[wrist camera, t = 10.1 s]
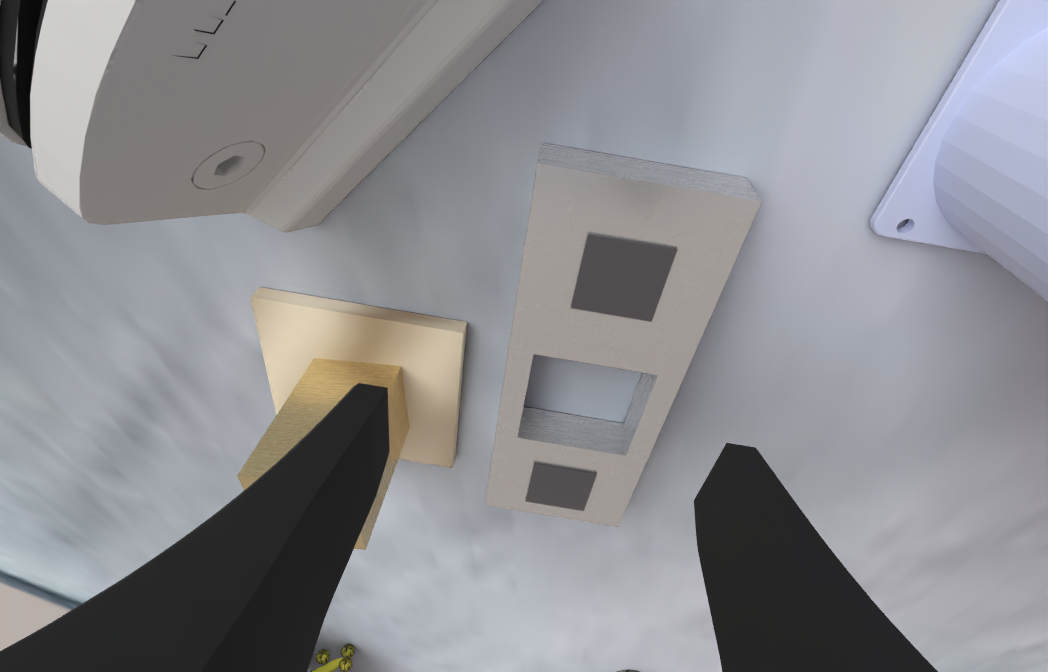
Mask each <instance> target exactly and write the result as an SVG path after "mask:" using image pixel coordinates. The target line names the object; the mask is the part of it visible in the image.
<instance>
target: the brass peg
mask: <svg viewBox="0 0 1048 672" xmlns="http://www.w3.org/2000/svg"><path fill="white" fill-rule="evenodd" d="M358 383H363V384H369V385H375V386H381V387H387V388H388V415H389V447H390V452H389V455H388V459H387V462H386V465H385V469H384V472H383V476H382V479H381V482H380V485H379V489H378V492H377V495H376V498H375V500H374V502H373V505H372V507H371V509H370V512H369V514H368V517H367V519H366V521H365V524H364V526H363V528H362V531H361V533H360V535H359V538H358V540H357V542H356V544H355V547H354V549H363V550H366V547H367V544H368V542H369V539H370V536H371V533H372V531H373V528H374V525H375V522H376V520H377V517H378V514H379V511H380V508H381V506H382V503H383V500H384V497H385V495H386V492H387V489H388V486H389V484H390V481H391V478H392V475H393V472H394V470H395V467H396V464H397V461H398V459H399V456H400V453H401V450H402V448H403V445H404V442H405V439H406V437H407V434H408V431H409V428H410V426H409V419H408V412H407V405H406V398H405V391H404V384H403V377H402V370H401V366H396V365H385V364H374V363H363V362H351V361H340V360H329V359H318V358H313V360H312V361H311V363H310V365H309V366H308V368H307V369H306V371H305V372H304V374H303V375H302V377H301V378H300V380H299V382H298V383H297V385H296V386H295V388H294V389H293V391H292V392H291V394H290V395H289V397H288V398H287V400H286V402H285V403H284V405H283V406H282V408H281V409H280V411H279V412H278V414H277V415H276V417H275V418H274V420H273V422H272V423H271V425H270V426H269V428H268V429H267V431H266V432H265V434H264V435H263V437H262V439H261V440H260V442H259V443H258V445H257V446H256V448H255V449H254V451H253V452H252V454H251V455H250V457H249V459H248V460H247V462H246V463H245V465H244V466H243V468H242V469H241V471H240V472H239V474H238V475H237V476H238V478H239V480H240V483H241V485H242V487H243V489H244V490H245V489H247V488H248V487H249V486H250V485H251V484H252V483H254V482H255V481H256V480H257V479H258V478H259V477H261V476H262V475H263V474H264V473H265V472H266V471H268V470H269V469H270V468H271V467H272V466H273V465H275V464H276V463H277V462H278V461H279V460H280V459H281V458H282V457H283V456H284V455H286V454H287V453H288V452H289V451H290V450H291V449H292V448H293V447H294V446H295V445H296V444H297V443H298V442H299V441H300V440H301V439H302V438H304V437H305V436H306V435H307V434H308V433H309V432H310V431H311V430H312V429H313V428H314V427H315V426H316V425H317V424H318V423H319V422H320V421H321V420H322V419H323V418H324V417H325V416H326V415H327V414H328V413H329V412H330V411H331V410H332V409H333V408H334V407H335V406H336V405H337V403H338V402H339V401H340V400H341V399H342V398H343V397H344V396H345V395H346V394H347V393H348V392H349V391H350V390H351V388H352V387H353V386H355V385H356V384H358Z"/></svg>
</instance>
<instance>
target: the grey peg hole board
mask: <svg viewBox="0 0 1048 672" xmlns="http://www.w3.org/2000/svg"><path fill="white" fill-rule="evenodd" d="M761 202H762V201H761V200H760V198H759V197H758V195H757V194H756V192H755V191H754V189H753V188H752V186H751V185H750V183H749V182H748V180H747V179H746V178H744V177H738V176H733V175H727V174H721V173H715V172H709V171H703V170H698V169H692V168H686V167H680V166H674V165H668V164H662V163H657V162H651V161H645V160H639V159H633V158H627V157H622V156H616V155H610V154H604V153H598V152H592V151H587V150H581V149H575V148H569V147H563V146H557V145H551V144H546V143H542V144H541V149H540V154H539V158H538V163H537V169H536V175H535V182H534V188H533V195H532V201H531V208H530V214H529V221H528V227H527V234H526V240H525V247H524V253H523V260H522V266H521V273H520V279H519V286H518V292H517V298H516V305H515V311H514V318H513V324H512V331H511V337H510V344H509V350H508V357H507V363H506V370H505V376H504V383H503V389H502V396H501V402H500V409H499V415H498V422H497V428H496V434H495V441H494V447H493V454H492V460H491V467H490V473H489V480H488V486H487V493H486V499H485V505H488V506H495V507H501V508H507V509H513V510H519V511H525V512H531V513H537V514H543V515H549V516H555V517H561V518H567V519H573V520H579V521H585V522H591V523H597V524H603V525H609V526H615V527H618V526H619V523H620V521H621V519H622V517H623V514H624V512H625V510H626V507H627V505H628V503H629V501H630V498H631V496H632V494H633V492H634V489H635V487H636V485H637V483H638V480H639V478H640V476H641V474H642V471H643V469H644V467H645V464H646V462H647V460H648V458H649V455H650V453H651V451H652V449H653V446H654V444H655V442H656V440H657V437H658V435H659V433H660V431H661V428H662V426H663V424H664V421H665V419H666V417H667V415H668V412H669V410H670V408H671V406H672V403H673V401H674V399H675V397H676V394H677V392H678V390H679V388H680V385H681V383H682V381H683V378H684V376H685V374H686V372H687V369H688V367H689V365H690V363H691V360H692V358H693V356H694V354H695V351H696V349H697V347H698V344H699V342H700V340H701V338H702V335H703V333H704V331H705V329H706V326H707V324H708V322H709V320H710V317H711V315H712V313H713V311H714V308H715V306H716V304H717V301H718V299H719V297H720V295H721V292H722V290H723V288H724V286H725V283H726V281H727V279H728V277H729V274H730V272H731V270H732V268H733V265H734V263H735V261H736V258H737V256H738V254H739V252H740V249H741V247H742V245H743V243H744V240H745V238H746V236H747V234H748V231H749V229H750V227H751V225H752V222H753V220H754V218H755V215H756V213H757V211H758V209H759V206H760V204H761ZM533 354H536V355H542V356H548V357H554V358H560V359H566V360H572V361H578V362H584V363H590V364H596V365H602V366H608V367H614V368H620V369H625V370H631V371H637V372H643V373H642V375H641V378H640V381H639V383H638V386H637V389H636V391H635V394H634V397H633V399H632V402H631V405H630V408H629V410H628V413H627V416H626V418H625V421H624V423H618V422H612V421H606V420H600V419H594V418H588V417H582V416H576V415H570V414H564V413H558V412H552V411H546V410H540V409H534V408H528V407H523V406H524V401H525V396H526V390H527V385H528V380H529V375H530V370H531V365H532V360H533Z"/></svg>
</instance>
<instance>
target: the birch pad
mask: <svg viewBox="0 0 1048 672" xmlns="http://www.w3.org/2000/svg"><path fill="white" fill-rule="evenodd" d="M250 299H251V303H252V307H253V312H254V316H255V321H256V325H257V330H258V334H259V339H260V343H261V348H262V352H263V357H264V361H265V366H266V370H267V375H268V379H269V384H270V388H271V393H272V397H273V402H274V406H275V410H276V415H277V414H278V412H279V411H280V409H281V408H282V406H283V405H284V403H285V402H286V400H287V398H288V397H289V395H290V394H291V392H292V391H293V389H294V388H295V386H296V385H297V383H298V382H299V380H300V378H301V377H302V375H303V374H304V372H305V371H306V369H307V368H308V366H309V365H310V363H311V361H312V360H313V358H318V359H329V360H340V361H351V362H363V363H374V364H385V365H396V366H401V370H402V377H403V384H404V391H405V398H406V405H407V412H408V419H409V426H410V428H409V431H408V434H407V437H406V439H405V442H404V445H403V448H402V450H401V453H400V456H399V459H402V460H408V461H414V462H420V463H426V464H432V465H438V466H444V467H450V468H452V467H453V463H454V459H455V453H456V441H457V430H458V418H459V407H460V395H461V384H462V372H463V361H464V349H465V338H466V326H467V322H464V321H458V320H452V319H446V318H440V317H434V316H428V315H422V314H416V313H410V312H405V311H399V310H393V309H387V308H381V307H375V306H369V305H363V304H357V303H351V302H345V301H339V300H333V299H327V298H321V297H315V296H309V295H303V294H298V293H292V292H286V291H280V290H274V289H268V288H262V287H259V288H258V290H257V291H256V292H255V293H254V294H253V295H252V296H251V297H250Z"/></svg>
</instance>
